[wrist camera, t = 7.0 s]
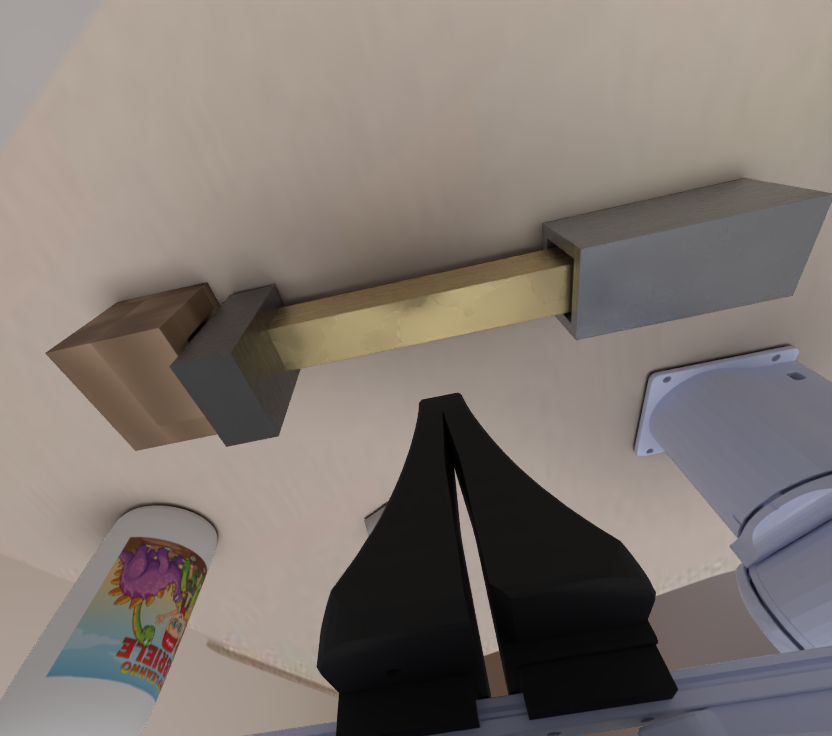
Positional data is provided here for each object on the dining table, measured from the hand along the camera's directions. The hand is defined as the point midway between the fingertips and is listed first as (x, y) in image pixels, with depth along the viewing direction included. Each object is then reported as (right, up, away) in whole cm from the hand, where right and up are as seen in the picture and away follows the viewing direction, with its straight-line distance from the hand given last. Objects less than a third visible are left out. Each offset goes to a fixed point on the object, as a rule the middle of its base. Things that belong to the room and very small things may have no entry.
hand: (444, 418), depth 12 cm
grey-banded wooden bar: (-3, +5, +8) cm, 10 cm away
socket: (-14, +3, +9) cm, 16 cm away
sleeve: (+11, +8, +7) cm, 15 cm away
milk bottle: (-21, -12, +18) cm, 30 cm away
